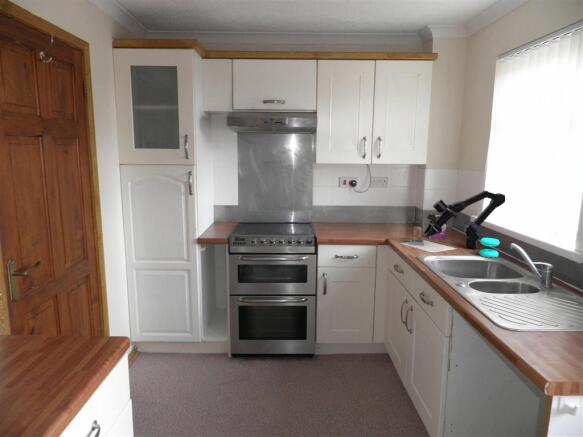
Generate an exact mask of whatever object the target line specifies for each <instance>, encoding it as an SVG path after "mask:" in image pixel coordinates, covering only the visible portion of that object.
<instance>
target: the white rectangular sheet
mask: <svg viewBox="0 0 583 437" xmlns="http://www.w3.org/2000/svg"><path fill="white" fill-rule="evenodd" d="M422 240H423V242H424V246H419V245H411V244H410V241H409V242H406V241H405V242H400V244H401V245H403V246H404V245H405V246H407V247H411V248H415V249H419V250H422V251H426V252H430V253H437V252H438V253H439V252H445V251H446V252H447V251H452V250H457V248H455V247H452V246H448V245H444V244H440V243H436V242H432V241H429V240H425V239H422Z"/></svg>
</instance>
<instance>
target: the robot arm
mask: <svg viewBox="0 0 583 437" xmlns="http://www.w3.org/2000/svg"><path fill="white" fill-rule="evenodd" d="M505 196H506V195H505V194H503V193H499V192H497V193H494V192H490V191H488V190H482V191H481V192H479V193H477V194H474V195H473V196H471V197H469V198H466V199H464V200H458V201H456V202H455V201H454V202H453V203H451V204H446V203H445V202H444V200H443V199H440V200H438V201H436V202H435V203H434V204H433V206H432V208H433V209H434V210H436V212H438V214H440V213H441V214H440V216H437V217H436V216H435V215H436V214H434V213H430V212H428V214H427V216H426V219H428V223H427V227H426V229H425V230H424V231H423V235H425V237H426V238H428V236H431V235H435V234H438V232H439V233H441V232H442V226H443V225H444V224H446V225H447V223H448V222H449V221H450V220H452V218H454V219H455V220H457V214H458V213H461V212H462V211H464V210H465V209H466V208H467V207H469V206H471V205H473V204H476V203H478V202H480V201H482V200H484V199H486V198H487V199H490V201H489V204H488V205H486V207H485V208H484V209H483V210H482V211H481V212H480V214H479V215H478V216H477V217H476V218H475V219H474V220H473V221H472V222H470V221H469V222H467V224H466V225H464V227H463V233H464V235H466V241H465V242H466V243H465V245H464V248H465V249H469V250H477V249H480V247H478V241H479V239H480V236H479V235H478V234H477V232H478V231H479V229H480V226H481V225H482V224H483V223H484V222H485V221H486V219H488V217H489V216H490V215H491V214H492V213H493V212H494V211H495V210H496V209H497V208H499V207H500V206H503V204H504V203H505V202H506V201H505ZM441 215H442V216H441ZM429 219H431V220H430V221H429ZM429 222H430V223H429Z"/></svg>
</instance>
